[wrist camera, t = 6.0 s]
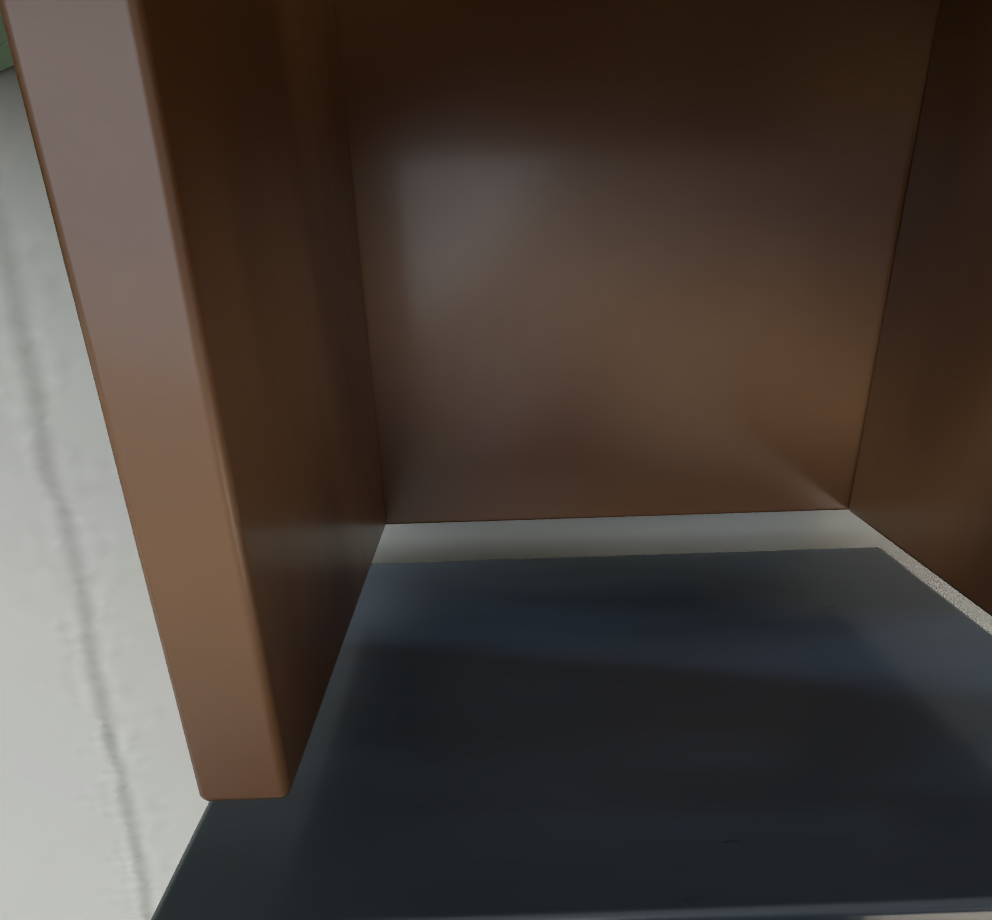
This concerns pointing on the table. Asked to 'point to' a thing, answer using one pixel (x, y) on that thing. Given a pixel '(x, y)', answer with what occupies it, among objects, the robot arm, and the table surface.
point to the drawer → (546, 439)
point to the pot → (4, 48)
